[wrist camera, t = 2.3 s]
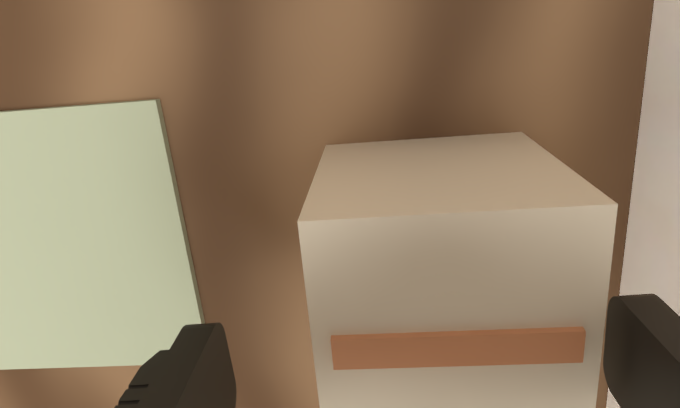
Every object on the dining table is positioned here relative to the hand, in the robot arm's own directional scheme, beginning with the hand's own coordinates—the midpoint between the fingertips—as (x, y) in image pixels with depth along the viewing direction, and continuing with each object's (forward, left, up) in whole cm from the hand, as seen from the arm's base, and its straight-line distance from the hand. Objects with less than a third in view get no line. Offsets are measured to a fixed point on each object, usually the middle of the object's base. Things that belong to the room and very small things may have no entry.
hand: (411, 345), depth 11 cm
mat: (+11, 0, -5) cm, 12 cm away
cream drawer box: (-1, 0, -5) cm, 5 cm away
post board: (+5, 0, -7) cm, 9 cm away
